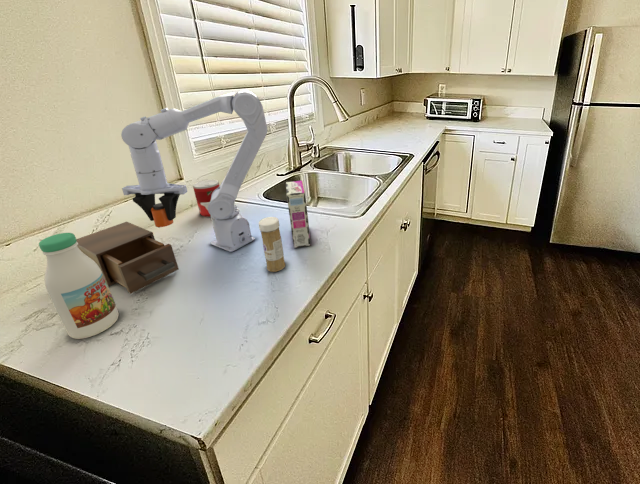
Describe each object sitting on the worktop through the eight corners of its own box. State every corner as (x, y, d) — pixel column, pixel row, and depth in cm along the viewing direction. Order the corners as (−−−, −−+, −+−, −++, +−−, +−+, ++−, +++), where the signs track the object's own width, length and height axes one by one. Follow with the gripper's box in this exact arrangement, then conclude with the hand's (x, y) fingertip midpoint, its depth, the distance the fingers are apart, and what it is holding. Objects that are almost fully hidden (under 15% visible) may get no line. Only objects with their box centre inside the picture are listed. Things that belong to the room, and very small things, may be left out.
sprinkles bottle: (263, 269, 82) (254, 221, 77) (277, 260, 86) (269, 214, 81) (275, 274, 80) (266, 226, 75) (289, 265, 84) (282, 218, 79)
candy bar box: (312, 246, 93) (305, 192, 87) (293, 249, 91) (285, 195, 85) (308, 228, 102) (302, 179, 96) (292, 231, 101) (284, 181, 95)
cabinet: (162, 261, 86) (152, 232, 83) (108, 286, 77) (96, 254, 73) (136, 248, 92) (126, 221, 89) (84, 270, 83) (71, 240, 79)
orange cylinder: (176, 220, 89) (172, 201, 87) (167, 227, 85) (162, 207, 83) (161, 220, 88) (156, 202, 87) (151, 227, 85) (146, 208, 83)
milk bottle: (62, 346, 60) (14, 254, 53) (77, 319, 67) (36, 233, 60) (114, 331, 64) (76, 242, 56) (124, 306, 70) (91, 224, 63)
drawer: (188, 274, 79) (181, 249, 77) (140, 300, 71) (130, 272, 68) (152, 256, 87) (144, 233, 84) (104, 278, 78) (94, 253, 76)
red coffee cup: (214, 218, 110) (207, 187, 106) (194, 216, 111) (186, 186, 107) (230, 208, 117) (223, 179, 113) (211, 206, 118) (204, 178, 114)
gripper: (107, 175, 77) (123, 226, 82) (170, 174, 78) (183, 225, 83) (128, 166, 84) (142, 214, 89) (186, 166, 85) (197, 213, 90)
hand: (163, 219), depth 86 cm, fingers closed on orange cylinder, 4 cm apart
